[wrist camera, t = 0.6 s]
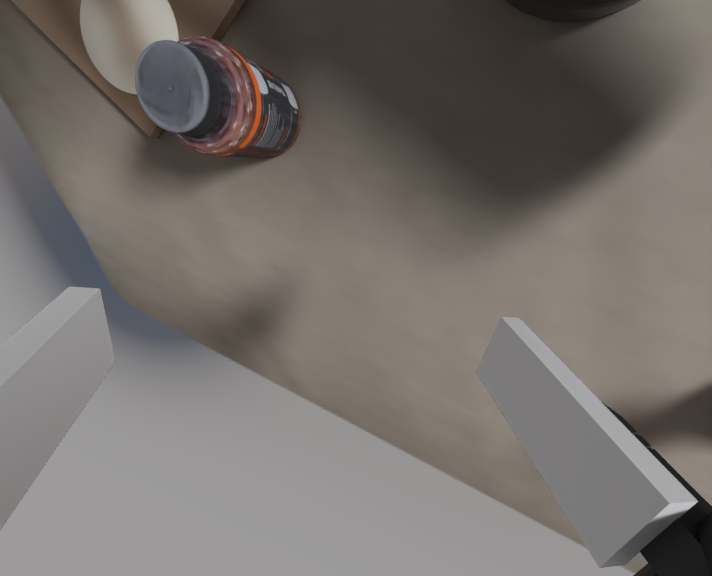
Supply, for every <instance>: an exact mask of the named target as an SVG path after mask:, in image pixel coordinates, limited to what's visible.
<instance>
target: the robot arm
mask: <svg viewBox="0 0 712 576" xmlns="http://www.w3.org/2000/svg"><path fill="white" fill-rule="evenodd" d="M507 1H508V2H510V3H511V4H513V5H514V6H516V7H517V8H519V9H521V10H522V11H524V12H526V13H529V14H531V15H533V16H536V17H540V18H543V19H548V20H554V21H582V20H589V19H594V18H599V17H602V16H606V15H609V14H612V13H614V12H617V11H620V10H622V9H624V8H626V7H629V6H631V5H633V4H635V3H636V2H638V1H640V0H507ZM114 363H115V356H114V352H113V347H112V342H111V338H110V333H109V328H108V324H107V319H106V314H105V310H104V305H103V300H102V296H101V291H100V289H97V288H84V287H68V288H67V289H66V290H65V291H64V292H62V293H61V294H60V295H59V296H58V297H57V298H55V299H54V300H53V301H52V302H51V303H49V304H48V305H47V306H46V307H45V308H43V309H42V310H41V311H40V312H39V313H38V314H36V315H35V316H34V317H33V318H32V319H30V320H29V321H28V322H27V323H26V324H25V325H23V326H22V327H21V328H20V329H19V330H17V331H16V332H15V333H14V334H13V335H12V336H10V337H9V338H8V339H7V340H6V341H5V342H3V343H2V344H1V345H0V530H1V529H2V527H3V526H4V524H5V523H6V521H7V520H8V518H9V517H10V515H11V514H12V512H13V511H14V509H15V508H16V507H17V505H18V504H19V502H20V501H21V499H22V498H23V496H24V495H25V493H26V492H27V490H28V489H29V488H30V486H31V484H32V483H33V482H34V480H35V479H36V477H37V476H38V474H39V473H40V471H41V470H42V469H43V467H44V466H45V464H46V463H47V461H48V460H49V458H50V457H51V455H52V454H53V452H54V451H55V449H56V448H57V446H58V445H59V443H60V442H61V441H62V439H63V438H64V436H65V435H66V433H67V432H68V430H69V429H70V427H71V426H72V424H73V423H74V421H75V420H76V419H77V417H78V416H79V414H80V413H81V411H82V410H83V408H84V407H85V405H86V404H87V402H88V401H89V399H90V398H91V397H92V395H93V394H94V392H95V391H96V389H97V388H98V386H99V385H100V383H101V382H102V381H103V379H104V377H105V376H106V375H107V373H108V372H109V370H110V369H111V367H112V366H113V364H114ZM476 373H477V375H478V376H479V378H480V380H481V381H482V383H483V384H484V386H485V387H486V389H487V391H488V392H489V394H490V395H491V397H492V399H493V400H494V402H495V403H496V405H497V406H498V408H499V410H500V411H501V413H502V414H503V416H504V417H505V419H506V421H507V422H508V424H509V425H510V427H511V429H512V430H513V432H514V433H515V435H516V436H517V438H518V440H519V441H520V443H521V444H522V446H523V448H524V449H525V451H526V452H527V454H528V455H529V457H530V459H531V460H532V462H533V463H534V465H535V466H536V468H537V470H538V471H539V473H540V474H541V476H542V478H543V479H544V481H545V482H546V484H547V485H548V487H549V489H550V490H551V492H552V493H553V495H554V497H555V498H556V500H557V501H558V503H559V504H560V506H561V508H562V509H563V511H564V512H565V514H566V515H567V517H568V519H569V520H570V522H571V523H572V525H573V527H574V528H575V530H576V531H577V533H578V534H579V536H580V538H581V539H582V541H583V542H584V544H585V546H586V547H587V549H588V550H589V552H590V553H591V555H592V556H593V558H594V560H595V561H596V563H597V564H598V566H599V568H601V567H610V566H619V565H625V564H627V563H628V562H629V561H630V560H631V559H632V558H633V557H635V556H636V555H637V554H638V553H639V552H641V554H642V555H643V556H644V558H645V559H646V560H647V562H648V564H647V565H646V566H645V567H643V568H642V569H641V570H640V571H639V572H637V573H636V574H635V575H634V576H712V506H711V505H710V504H709V503H708V502H706V501H705V500H704V499H703V498H702V497H701V496H700V495H699V494H698V493H697V492H696V491H695V490H694V489H693V488H692V487H691V486H690V485H689V484H688V483H687V482H686V481H685V480H684V479H683V478H682V477H681V476H680V475H679V474H678V473H677V472H676V471H675V470H674V469H673V468H672V467H671V466H670V465H669V464H668V463H667V461H666V460H665V459H664V458H663V457H662V456H661V455H660V454H659V453H658V452H657V451H656V450H655V449H651V447H650V446H651V445H650V444H649V443H648V442H647V441H646V440H645V439H644V438H643V437H642V436H638V434H637V431H636V430H635V429H634V428H633V427H632V426H631V425H630V424H629V423H628V422H627V421H626V420H625V419H624V418H623V417H622V416H620V415H619V414H618V413H616V412H615V411H613V410H612V409H611V408H609V407H608V406H606V405H605V404H604V403H602V402H601V401H600V400H599V399H598V398H597V397H596V396H595V395H594V394H593V393H592V392H591V391H590V390H589V389H588V388H587V387H586V386H585V385H584V384H583V383H582V382H581V381H580V380H579V379H578V378H577V377H576V376H575V375H574V374H573V373H572V372H571V371H570V370H569V369H568V367H567V366H566V365H565V364H564V363H563V362H562V361H561V360H560V359H559V358H558V357H557V356H556V355H555V354H554V353H553V352H552V351H551V350H550V349H549V348H548V347H547V346H546V345H545V344H544V343H543V342H542V341H541V340H540V339H539V338H538V337H537V336H536V335H535V334H534V333H533V332H532V331H531V330H530V329H529V328H528V327H527V326H526V325H525V323H524V322H523V321H522V320H521V319H520V318H511V317H501V318H500V321H499V323H498V325H497V327H496V329H495V332H494V334H493V336H492V338H491V340H490V342H489V345H488V347H487V349H486V351H485V353H484V356H483V358H482V360H481V362H480V364H479V366H478V369H477V371H476Z"/></svg>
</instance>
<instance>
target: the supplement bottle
mask: <svg viewBox="0 0 712 576" xmlns="http://www.w3.org/2000/svg"><path fill="white" fill-rule="evenodd" d="M135 84H136V85H135V88H136V91H137V96H138V99H139V102H140V104H141V105H142V107H143V109H144V111H145V113H146V114H147V115H148V117H149V118H150V119H151V120H152V121H153V122H154V123H155V124H157V125H158V126H159V127H161V128H162V129H164V130H167V131H169V132H172V134H173V135H174V136H175V137H176V138H177V139H178V140H179V141H180V142H181V143H183V144H184V145H186V146H187V147H189V148H190V149H192V150H194V151H197V152H199V153H203V154H207V155H215V156H234V157H256V158H268V157H275V156H278V155H281V154H283V153H284V152H286V151H287V150H288V149H290V148H291V146H292V145H293V144H294V142H295V141H296V139H297V136H298V134H299V131H300V126H301V112H300V108H299V104H298V101H297V99H296V96H295V94H294V93H293V91H292V90H291V88H290V87H289V86H288V85H287V84H286V83H285V82H283V81H282V80H281V79H280V78H279V77H277V76H276V75H274V74H272V73H271V72H269V71H268V70H266V69H265V68H263V67H261V66H259V65H258V64H256V63H255V62H253V61H251V60H250V59H248V58H247V57H245V56H244V55H242V54H240V53H239V52H237V51H235V50H234V49H232V48H230V47H229V46H227V45H225V44H224V43H222V42H219V41H217V40H215V39H212V38H209V37H207V36H193V37H187V38H184V39H181V40H179V41H178V42H175V41H172V40H161V41H156V42H154V43H152V44H150V45H149V46H148V47H147V48H146V49H145V50H144V51H143V52H142V53H141V55H140V57H139V59H138V62H137V65H136V70H135Z"/></svg>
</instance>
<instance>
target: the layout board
mask: <svg viewBox="0 0 712 576" xmlns="http://www.w3.org/2000/svg"><path fill="white" fill-rule="evenodd" d="M11 1H12V2H13V3H14V4H15V5H16V6H17V7H18V8H19V9H20V10H21V11H22V12H23V13H24V14H25V15H26V16H27V17H28V18H29V19H30V20H31V21H32V22H33V23H34V24H35V25H36V26H37V27H38V28H39V29H40V30H41V31H42V32H43V33H44V34H45V35H46V36H47V37H48V38H49V39H50V40H51V41H52V42H53V43H54V44H55V45H56V46H57V47H59V48H60V49H61V50H62V51H63V52H64V53H65V54H66V55H67V56H68V57H69V58H70V59H71V60H72V61H73V62H74V63H75V64H76V65H77V66H78V67H79V68H80V69H81V70H82V71H83V72H84V73H85V74H86V75H87V76H88V77H89V78H90V79H91V80H92V81H93V82H94V83H95V84H96V85H97V86H98V87H99V88H100V89H101V90H102V91H103V92H104V93H105V94H106V95H107V96H108V97H109V98H110V99H111V100H112V101H113V102H114V103H115V104H116V105H117V106H118V107H119V108H120V109H121V110H122V111H124V112H125V113H126V114H127V115H128V116H129V117H130V118H131V119H132V120H133V121H134V122H135V123H136V124H137V125H138V126H139V127H140V128H141V129H142V130H143V131H144V132H145V133H146V134H147V135H148V136H149V137H151V138H159V136H160V135H161V133H162V132H163V130H164V129H162V128H161V127H159V126H158V125H157V124H155V123H154V122H153V121H152V120H151V119H150V118H149V117H148V115H147V114H146V113H145V111H144V109H143V107H142V105H141V104H140V102H139V99H138V96H137V91H136V88H135V85H136V84H135V70H136V65H137V62H138V59H139V57H140V55H141V53H142V52H143V51H144V50H145V49H146V48H147V47H148V46H149V45H150V44H152V43H154V42H156V41H161V40H172V41H175V42H178V41H179V40H181V39H184V38H187V37H193V36H207V37H209V38H212V39H215V40H217V41H219V42H220V40H221V39H222V37H223V36H224V34H225V33H226V31H227V29H228V28H229V26H230V25H231V23H232V21H233V20H234V18H235V17H236V15H237V14H238V12H239V10H240V9H241V7H242V6H243V4H244V3H245V1H246V0H11Z"/></svg>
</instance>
